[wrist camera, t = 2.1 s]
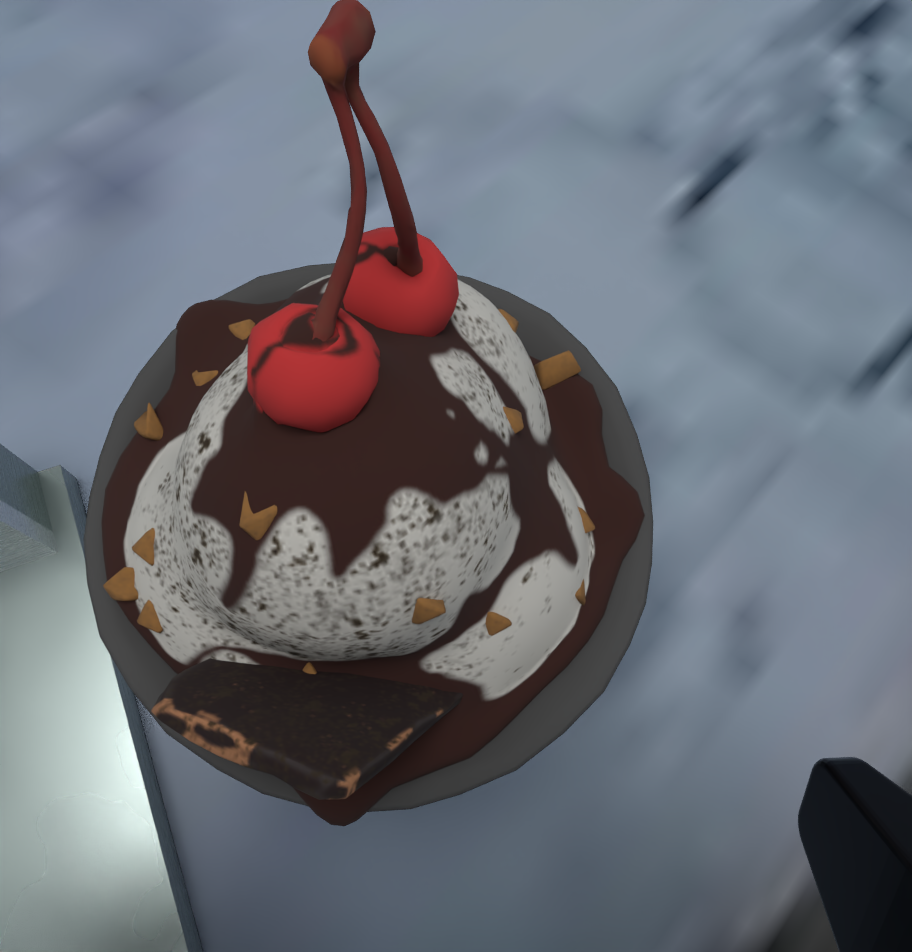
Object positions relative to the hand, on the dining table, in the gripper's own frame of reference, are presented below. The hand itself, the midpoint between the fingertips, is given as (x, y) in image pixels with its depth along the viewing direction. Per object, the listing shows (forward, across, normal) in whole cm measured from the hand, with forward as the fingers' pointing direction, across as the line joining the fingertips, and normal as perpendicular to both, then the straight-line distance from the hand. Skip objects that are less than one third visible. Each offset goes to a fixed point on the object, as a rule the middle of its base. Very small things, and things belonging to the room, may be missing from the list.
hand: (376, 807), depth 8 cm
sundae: (+10, 0, +5) cm, 11 cm away
